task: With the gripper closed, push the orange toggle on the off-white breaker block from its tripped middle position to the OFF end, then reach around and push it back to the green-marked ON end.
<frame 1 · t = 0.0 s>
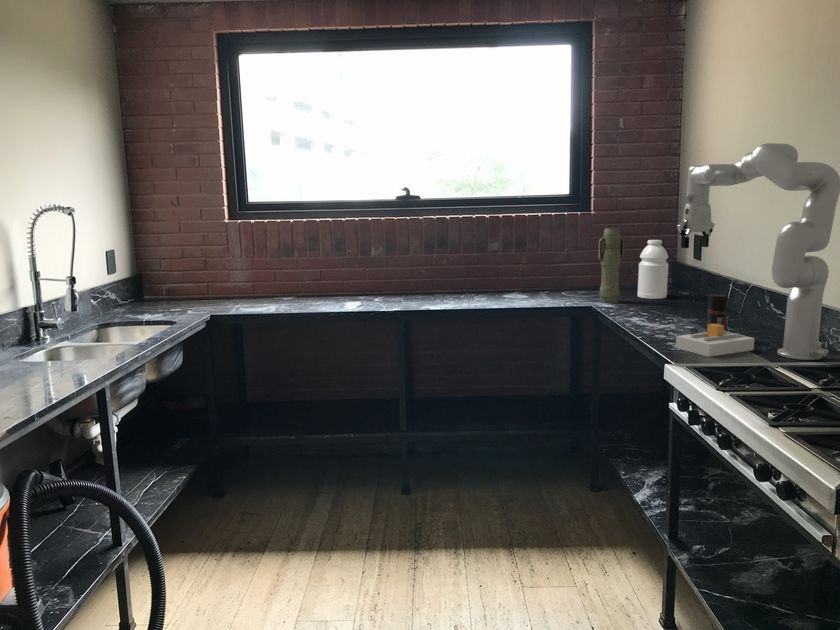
hand: (694, 247, 249), 31 cm above the worktop, fingers open, 9 cm apart
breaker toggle: (715, 330, 223), point 6 cm above the worktop, slide at 0.0 cm
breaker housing: (714, 348, 225), on the worktop
bottle: (651, 297, 335), on the worktop
thermos: (608, 302, 322), on the worktop
deodorant: (715, 336, 244), on the worktop
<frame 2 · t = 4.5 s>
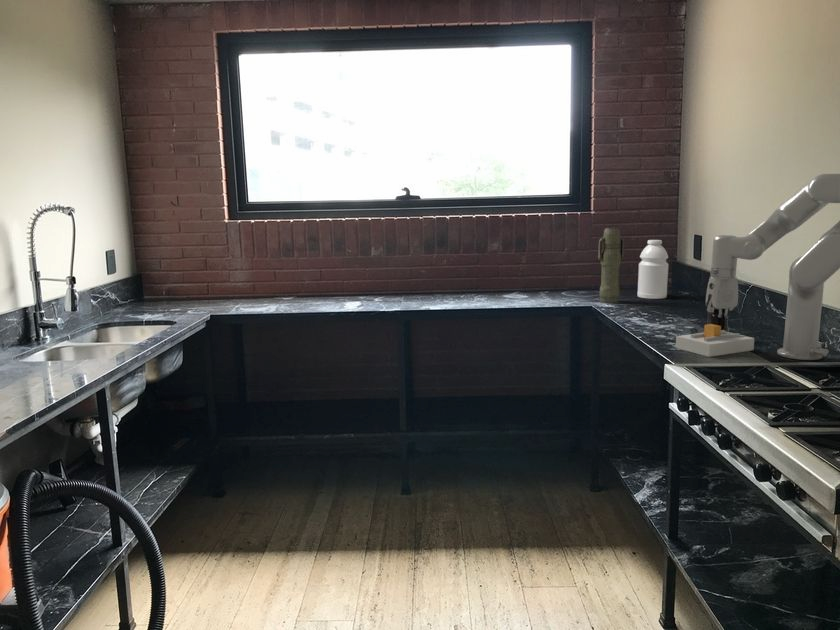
hand: (718, 328, 224), 7 cm above the worktop, fingers closed
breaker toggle: (712, 331, 223), point 6 cm above the worktop, slide at 1.4 cm, touching gripper
everything else where it was.
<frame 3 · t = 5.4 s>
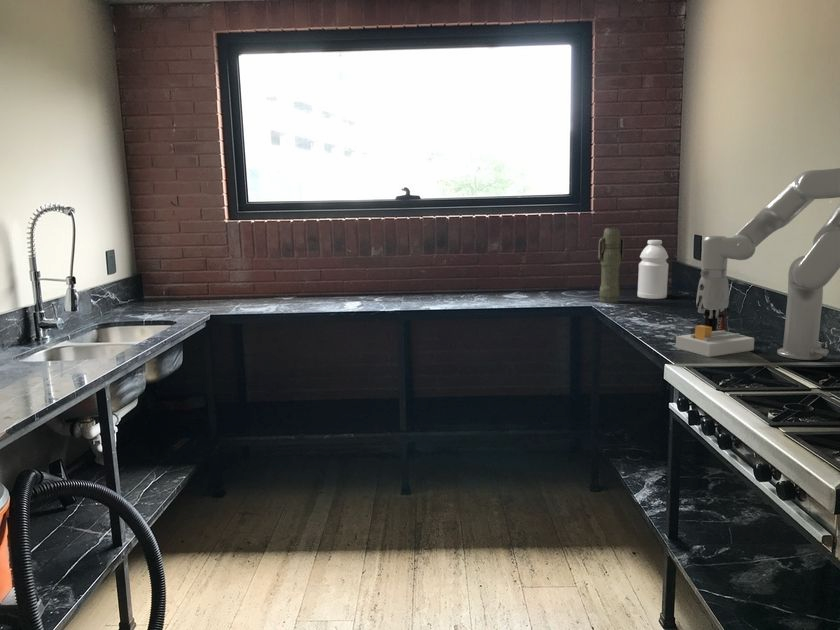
hand: (709, 329, 223), 7 cm above the worktop, fingers closed
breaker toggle: (703, 332, 221), point 6 cm above the worktop, slide at 5.5 cm, touching gripper
everything else where it was.
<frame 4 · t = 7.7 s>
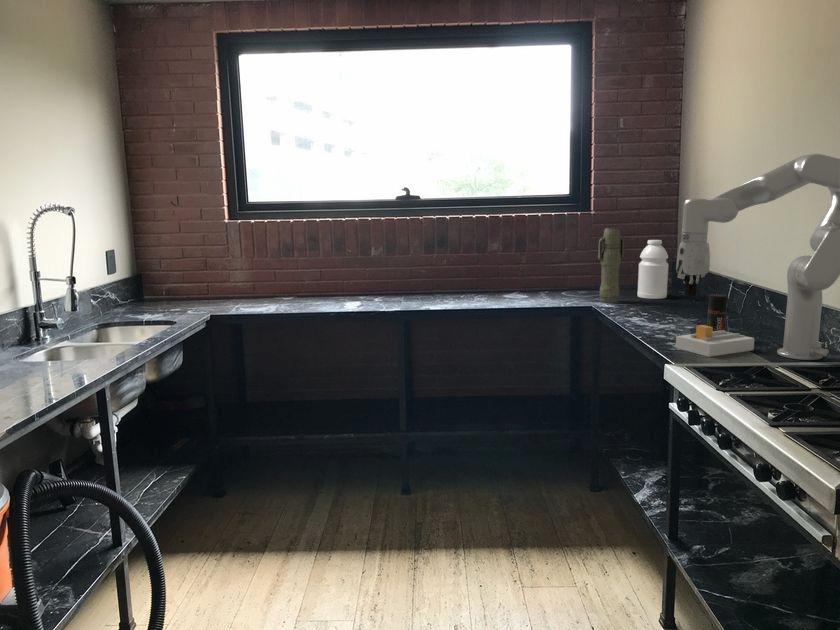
hand: (690, 295, 216), 19 cm above the worktop, fingers closed
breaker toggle: (704, 332, 221), point 6 cm above the worktop, slide at 5.1 cm
everything else where it was.
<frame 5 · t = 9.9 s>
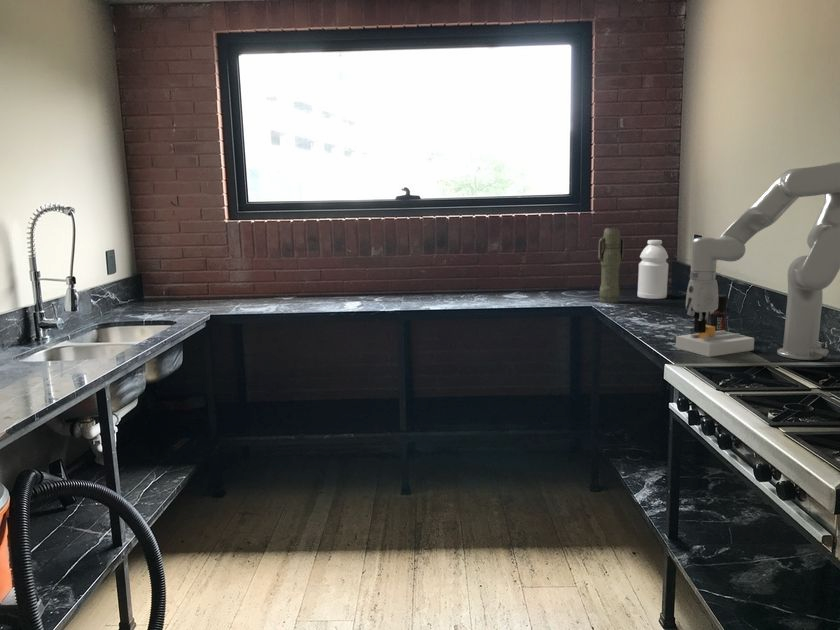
hand: (699, 332, 220), 6 cm above the worktop, fingers closed
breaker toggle: (706, 332, 222), point 6 cm above the worktop, slide at 4.0 cm, touching gripper
everything else where it was.
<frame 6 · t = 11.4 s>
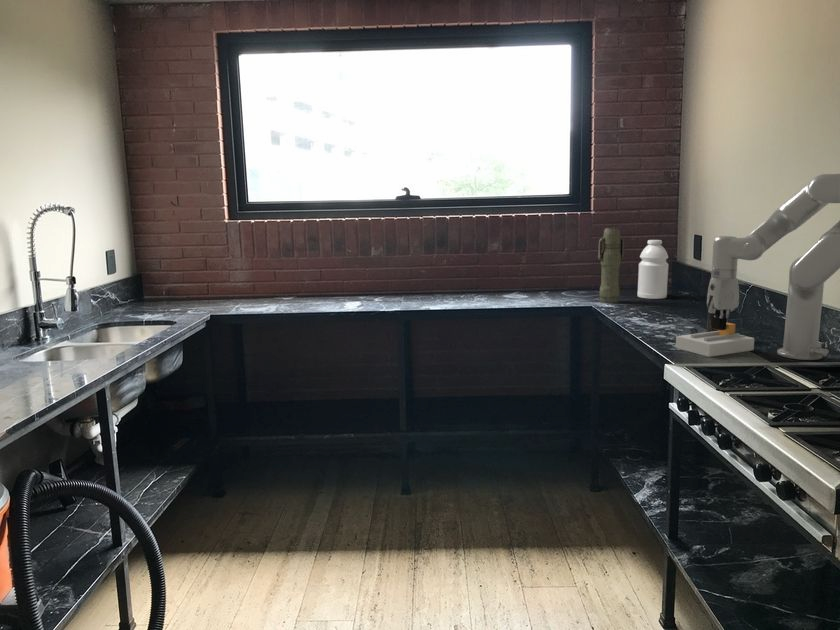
hand: (720, 329, 224), 7 cm above the worktop, fingers closed
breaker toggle: (726, 329, 226), point 6 cm above the worktop, slide at -5.2 cm, touching gripper
everything else where it was.
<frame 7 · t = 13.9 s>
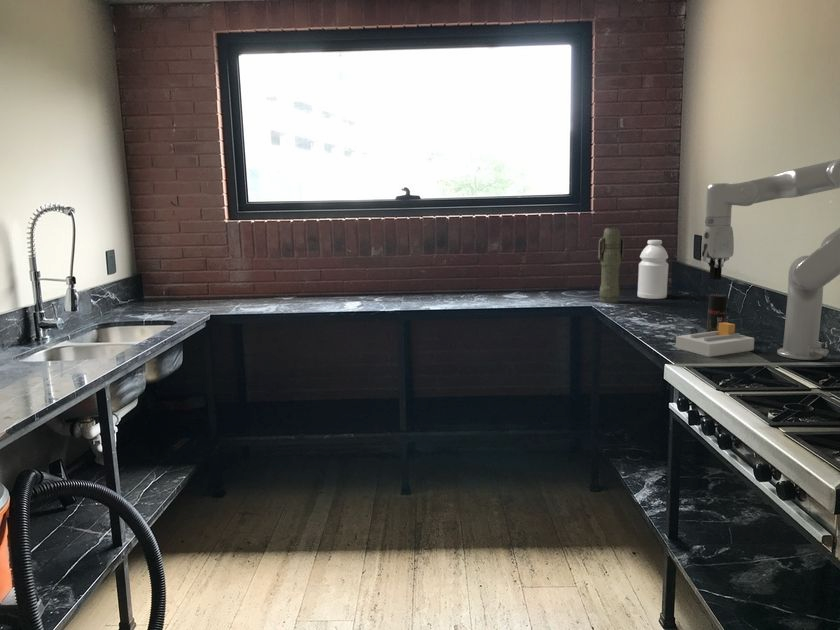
hand: (715, 279, 220), 23 cm above the worktop, fingers closed
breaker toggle: (726, 329, 226), point 6 cm above the worktop, slide at -5.1 cm
everything else where it was.
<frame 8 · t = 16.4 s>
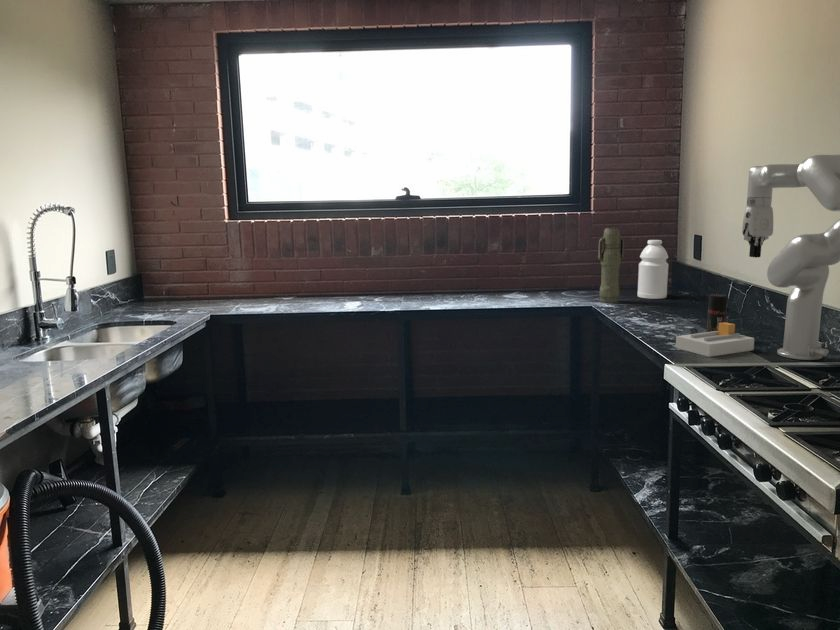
hand: (754, 256, 233), 29 cm above the worktop, fingers closed
nothing on the worktop moved.
at the end: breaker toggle slide at -5.1 cm; deodorant moved 0.2 cm from its start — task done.
